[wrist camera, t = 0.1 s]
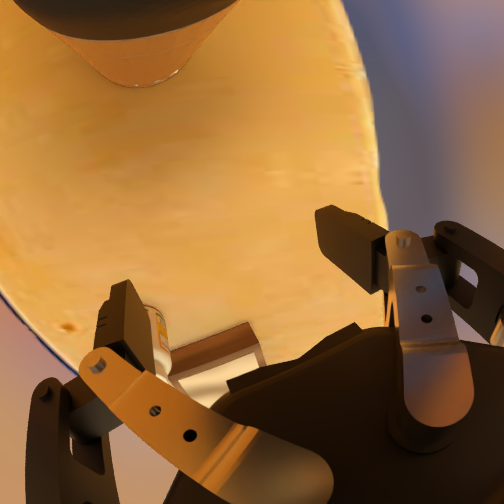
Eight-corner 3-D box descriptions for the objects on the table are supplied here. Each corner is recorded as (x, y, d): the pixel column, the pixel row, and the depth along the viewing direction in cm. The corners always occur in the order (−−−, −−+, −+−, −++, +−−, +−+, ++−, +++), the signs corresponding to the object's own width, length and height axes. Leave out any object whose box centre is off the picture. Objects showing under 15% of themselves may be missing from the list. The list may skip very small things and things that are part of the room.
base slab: (162, 354, 35) (167, 378, 31) (248, 321, 37) (259, 344, 33) (194, 398, 41) (200, 419, 38) (264, 372, 43) (275, 391, 40)
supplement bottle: (172, 313, 33) (186, 376, 25) (153, 343, 34) (163, 406, 26) (130, 297, 30) (131, 362, 22) (114, 330, 31) (114, 394, 23)
